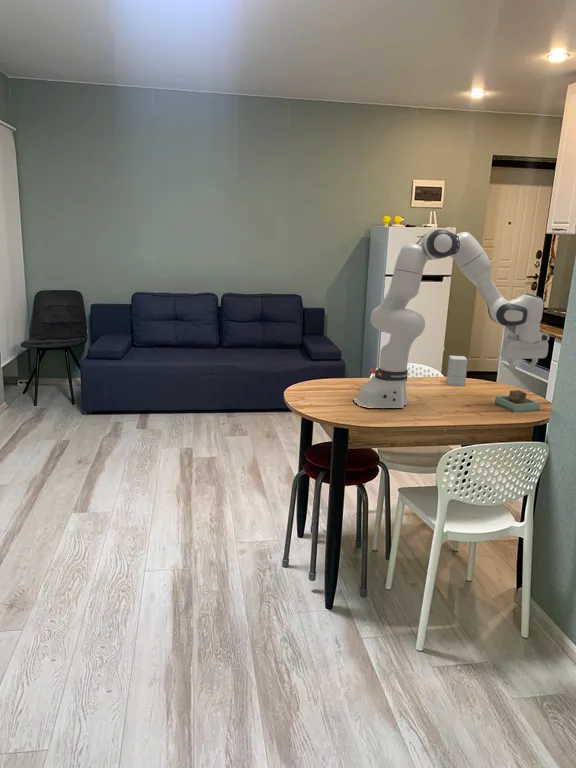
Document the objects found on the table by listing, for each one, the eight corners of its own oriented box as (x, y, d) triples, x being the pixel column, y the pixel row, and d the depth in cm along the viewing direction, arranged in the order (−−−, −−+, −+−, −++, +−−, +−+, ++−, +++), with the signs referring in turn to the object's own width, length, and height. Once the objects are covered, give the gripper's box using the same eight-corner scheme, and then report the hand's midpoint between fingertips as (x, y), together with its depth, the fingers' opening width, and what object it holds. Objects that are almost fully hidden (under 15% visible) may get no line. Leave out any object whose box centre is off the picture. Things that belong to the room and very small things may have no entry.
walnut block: (515, 406, 235) (517, 393, 233) (508, 403, 239) (509, 390, 237) (524, 406, 236) (526, 393, 235) (517, 402, 240) (519, 390, 239)
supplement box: (462, 382, 273) (465, 356, 270) (465, 386, 266) (468, 359, 263) (446, 381, 274) (448, 355, 271) (448, 385, 267) (451, 358, 264)
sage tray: (514, 412, 230) (515, 405, 230) (494, 403, 241) (495, 396, 240) (538, 410, 234) (539, 403, 233) (518, 401, 245) (519, 394, 244)
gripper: (510, 337, 223) (505, 371, 227) (553, 336, 230) (547, 370, 233) (499, 334, 229) (494, 368, 233) (541, 333, 236) (536, 366, 239)
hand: (521, 369), depth 233 cm, fingers open, 8 cm apart
